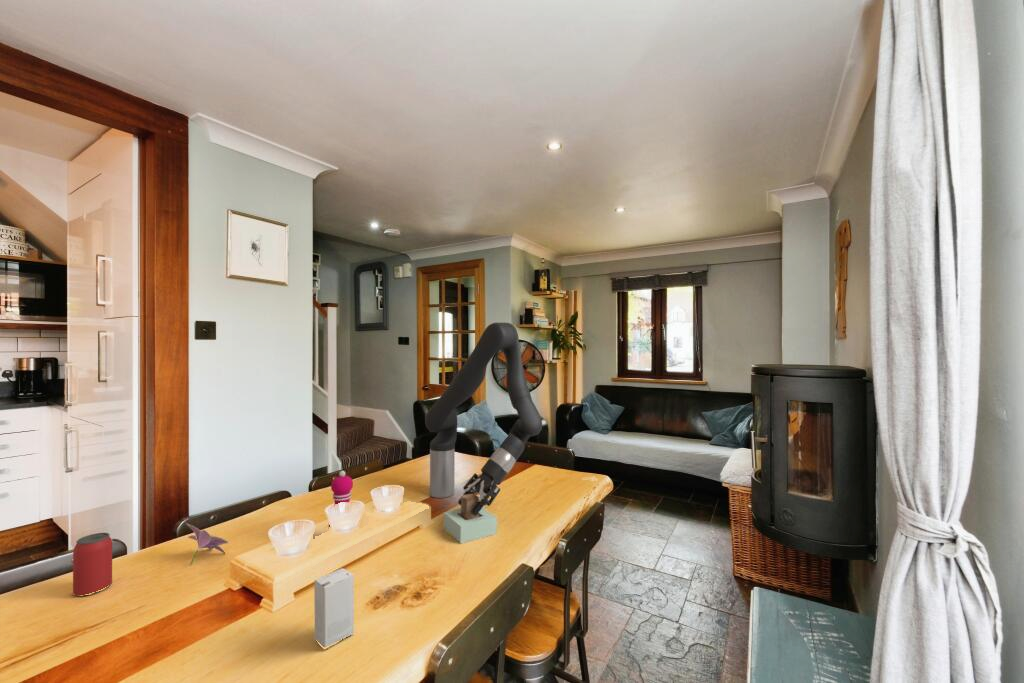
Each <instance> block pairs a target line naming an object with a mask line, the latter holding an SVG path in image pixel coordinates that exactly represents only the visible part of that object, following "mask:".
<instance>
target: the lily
mask: <svg viewBox="0 0 1024 683" xmlns="http://www.w3.org/2000/svg"><path fill="white" fill-rule="evenodd" d="M185 524H186V526H187V527H189V528H190V529H191V530H192V531H193V533H194V534H195V535H189V536H187V538H188V539H192V540H195V541H196V542H197V546H198V548H197V550H196V551H195V554H194V555H193V557H192V560H191V562H190V564H189V566H190V565H191V564H192V565H193V562H194V560H195V557H196V555H197V554H198V553H199V551H200V550H202V549H208V550H210V549H211V550H213V549H215V550H217V551H219V552H221V553H223V554H224V553H226V552H225V551H224V549H223V548H222V547H220V546H222V545H224V544H229V541H227V540H226V539H224V538H222V537H219V536H213V535H212V534H210V533H209V532H208V531H207V530H205V529H202V530H201V529H199V527H196V526H194V525H192V524H189V523H187V522H185ZM192 565H191V566H192Z"/></svg>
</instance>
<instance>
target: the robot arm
mask: <svg viewBox="0 0 1024 683" xmlns="http://www.w3.org/2000/svg"><path fill="white" fill-rule="evenodd" d="M477 341H478V342H477V343H476V345H475V347H474V348H473V350H472V352H471V353H470V354H469V356H468V358H467V359H466V361H465V362H464V363H463V364H462V366H461V367H460V369H459V370H458V371H457V373H456V374H455V375H454V377H453V379H452V380H451V382H449V385H448V386H447V387H446V389H445V390H444V392H443V393H442V394H441V396H440V397H439V398H438V399H437V400H436V401H435V402H434V403H433V404H432V406H431V407H430V408H429V409H428V410H427V413H426V414H425V419H424V424H425V427H426V429H427V430H428V431H430V432H432V433H437V435H436V436H435V437H434V438H433V439H432V440H430V443H429V495H430V496H431V497H432V498H438V499H439V498H440V499H441V498H442V499H444V498H448V497H452V496H454V494H455V468H456V467H455V463H456V462H455V458H456V457H455V444H456V443H457V435H458V434H457V433H458V413H457V411H456V408H457V407H459V406H460V405H461V404H463V403H464V402H465V401H467V400H468V399H470V398H471V397H472V396H473V395H474V394H475V393H476V391H478V389H479V388H480V386H481V385H482V383H483V382H484V380H485V377H486V373H487V367H488V364H489V363H490V361H491V360H492V358H493V357H494V356H495V355H496V354H497V352H499V351H501V350H502V352H503V356H504V358H505V361H506V379H505V380H506V381H505V382H506V384H505V385H506V389H507V393H508V397H509V400H510V403H511V406H512V407H513V409H514V410H515V411H516V412H517V414H518V417H519V418H518V419H517V420H516V421H515V423H514V424H513V426H512V427H511V429H510V430H509V433H508V435H507V436H506V437H505V438H504V440H503V441H502V442H501V444H500V445H499V447H497V449H496V450H495V451H494V452H493V453H492V455H491V456H489V458H488V460H487V461H486V462H485V464H484V465H483V466H482V467H481V468H480V471H481V474H480V475H478V474H477V473H473V475H472V476H471V477H470V478H469V480H467V481H466V483H465V485H464V486H463V490H464V493H463V494H462V496H463V495H467V494H472V493H473V494H474V495H478V494H479V496H478V497H479V501H477V502H476V504H475V505H474V506H473V508H472V509H471V511H470V512H471V513H472V514H473V515H474V516H476V515H477V514H478V513H479V511H480V510H481V509H482V508H484V506H488V507H490V506H491V505H492V504H493V502H494V500H495V499H496V497H497V496H498V495H499V493H500V492H501V488H500V487H499V485H501V484H502V482H503V481H505V478H506V476H507V475H508V474H509V472H510V471H511V470H512V468H513V467H514V465H515V463H516V462H517V460H518V459H519V458H520V456H521V455H522V453H523V452H524V450H525V447H526V446H525V445H526V444H527V442H528V440H529V439H530V438H531V437H535V436H537V435H539V434H540V432H541V431H542V429H543V421H542V417H541V415H540V413H539V410H538V408H537V406H536V404H535V403H534V402H533V399H532V394H531V391H530V389H529V385H528V382H527V378H526V375H525V369H524V365H523V359H522V352H521V346H520V338H519V333H518V330H517V329H516V326H514V324H512V323H509V322H492V323H490V324H489V325H487V327H486V328H485V329H484V330H483V332H482V334H481V336H480V337H479V340H477ZM457 503H458V504H459V506H461V497H460V498H459V500H458V501H457Z"/></svg>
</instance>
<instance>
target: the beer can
mask: <svg viewBox="0 0 1024 683" xmlns="http://www.w3.org/2000/svg"><path fill="white" fill-rule="evenodd" d="M110 535H111V534H110V533H109V532H97V533H93V534H89V535H85V536H82V537H81V538H79V539H77V540H76V542H75V543H76V544H75V545H74V548H73V551H72V552H73V553H72V594H73V595H74V594H75V595H74V596H76V595H85V594H89V593H92V592H96V591H98V590H101V589H103V588H105V587H107V586H108V585H110V584H111V585H112V583H113V540H112V538H111V536H110ZM111 585H110V586H111ZM107 588H108V587H107Z"/></svg>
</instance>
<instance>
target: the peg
mask: <svg viewBox="0 0 1024 683" xmlns="http://www.w3.org/2000/svg"><path fill="white" fill-rule="evenodd" d="M479 497H480V496H477V494H473V493H472V494H467V495H463V494H462V495H460V498H461V505H460V509H461V517H462V518H463V519H464V520H469V519H473V518H477V517H479V513H478V514H477V515H476V516H474V515H473V514H472V513H471V512H470V511H471V509H472V508H473V506H474V505H475V504H476V502H477V501H479Z"/></svg>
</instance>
